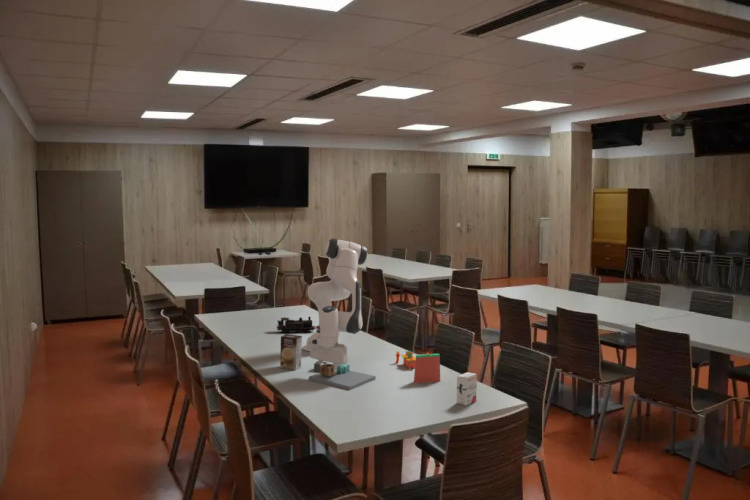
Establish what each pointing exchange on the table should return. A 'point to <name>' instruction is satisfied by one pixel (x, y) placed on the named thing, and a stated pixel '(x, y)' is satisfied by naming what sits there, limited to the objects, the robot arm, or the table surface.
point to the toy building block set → (422, 366)
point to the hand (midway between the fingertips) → (328, 370)
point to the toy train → (295, 325)
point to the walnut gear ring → (327, 369)
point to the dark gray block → (318, 366)
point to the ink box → (466, 388)
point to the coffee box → (290, 352)
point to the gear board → (343, 378)
